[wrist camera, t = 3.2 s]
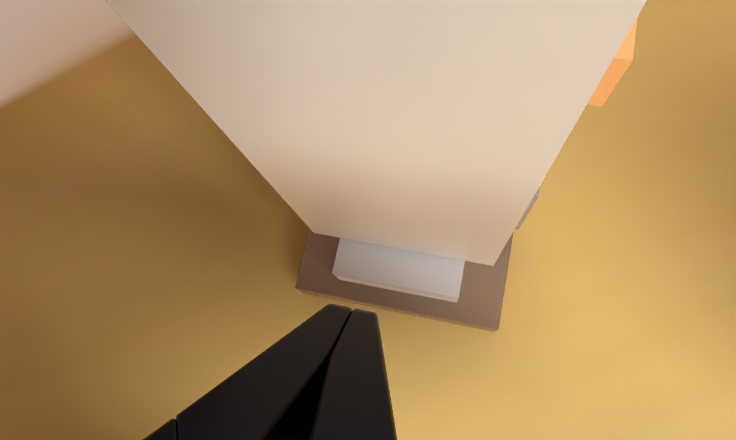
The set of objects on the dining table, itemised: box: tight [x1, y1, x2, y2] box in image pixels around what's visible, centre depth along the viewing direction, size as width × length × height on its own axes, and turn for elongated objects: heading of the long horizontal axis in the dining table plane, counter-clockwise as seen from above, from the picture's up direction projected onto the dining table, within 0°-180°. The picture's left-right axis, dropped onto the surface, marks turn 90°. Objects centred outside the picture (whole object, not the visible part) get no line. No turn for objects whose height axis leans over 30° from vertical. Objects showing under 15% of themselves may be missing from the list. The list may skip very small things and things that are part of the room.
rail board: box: [295, 229, 513, 332], centre depth 16 cm, size 9×6×5 cm, turn 168°
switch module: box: [106, 0, 646, 266], centre depth 10 cm, size 4×6×11 cm, turn 78°
